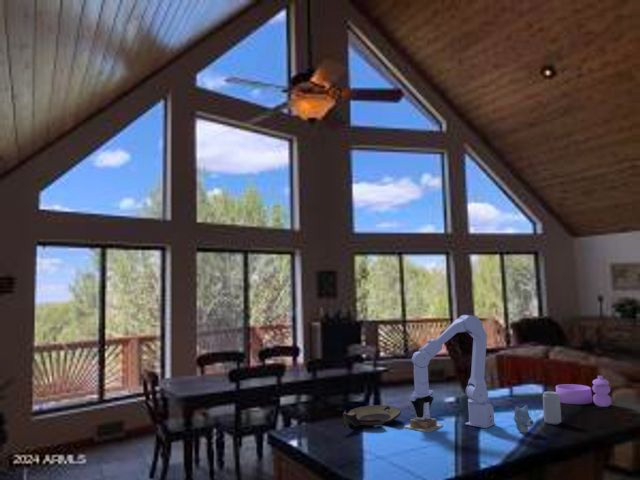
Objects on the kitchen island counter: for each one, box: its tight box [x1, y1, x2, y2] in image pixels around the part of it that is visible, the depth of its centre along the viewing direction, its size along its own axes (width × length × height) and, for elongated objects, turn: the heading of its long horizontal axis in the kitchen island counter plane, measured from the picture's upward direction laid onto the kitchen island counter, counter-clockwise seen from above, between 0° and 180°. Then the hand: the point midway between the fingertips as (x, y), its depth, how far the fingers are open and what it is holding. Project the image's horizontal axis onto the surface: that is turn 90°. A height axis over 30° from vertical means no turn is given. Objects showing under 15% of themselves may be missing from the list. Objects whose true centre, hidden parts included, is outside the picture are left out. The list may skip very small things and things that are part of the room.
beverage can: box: [542, 390, 562, 425], centre depth 215 cm, size 6×6×12 cm
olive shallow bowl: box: [342, 404, 402, 427], centre depth 223 cm, size 22×30×8 cm
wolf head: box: [513, 404, 535, 434], centre depth 202 cm, size 6×9×10 cm
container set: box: [555, 375, 612, 408], centre depth 249 cm, size 25×15×13 cm, turn 33°
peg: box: [415, 401, 431, 422], centre depth 215 cm, size 4×4×8 cm
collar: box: [404, 417, 444, 433], centre depth 215 cm, size 11×11×3 cm
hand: (422, 416), depth 215 cm, fingers closed on peg, 4 cm apart
